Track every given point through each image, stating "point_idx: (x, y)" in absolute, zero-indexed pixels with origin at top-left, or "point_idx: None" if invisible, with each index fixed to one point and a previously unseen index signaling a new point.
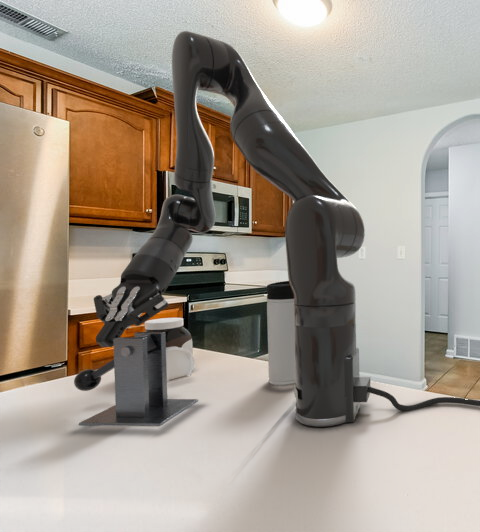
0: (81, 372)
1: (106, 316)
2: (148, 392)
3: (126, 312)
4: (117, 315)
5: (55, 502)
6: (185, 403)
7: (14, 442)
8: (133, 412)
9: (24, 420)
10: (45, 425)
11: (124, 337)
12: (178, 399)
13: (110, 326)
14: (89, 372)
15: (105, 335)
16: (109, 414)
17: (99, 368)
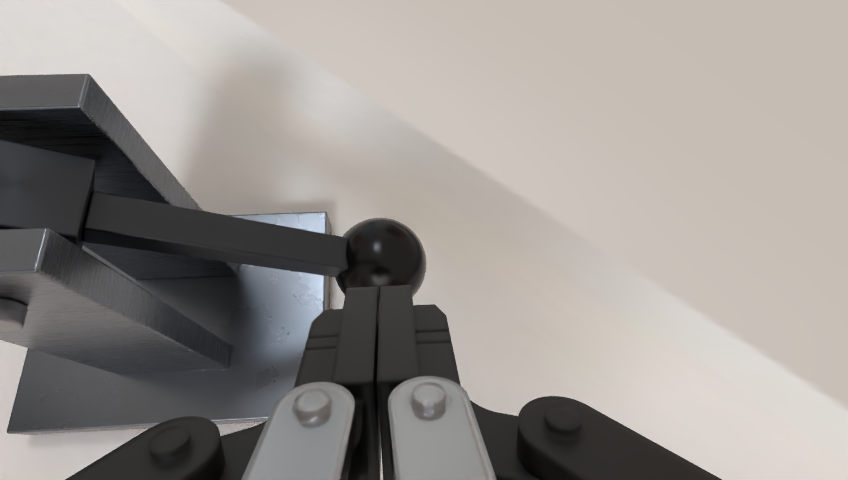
0: (385, 227)
1: (519, 459)
2: (91, 249)
3: (245, 476)
4: (347, 431)
5: (138, 7)
6: (42, 380)
7: (451, 166)
8: None
9: (587, 282)
10: (478, 255)
11: (35, 103)
12: (93, 422)
13: (360, 349)
14: (353, 236)
15: (356, 302)
16: (276, 270)
17: (300, 230)
